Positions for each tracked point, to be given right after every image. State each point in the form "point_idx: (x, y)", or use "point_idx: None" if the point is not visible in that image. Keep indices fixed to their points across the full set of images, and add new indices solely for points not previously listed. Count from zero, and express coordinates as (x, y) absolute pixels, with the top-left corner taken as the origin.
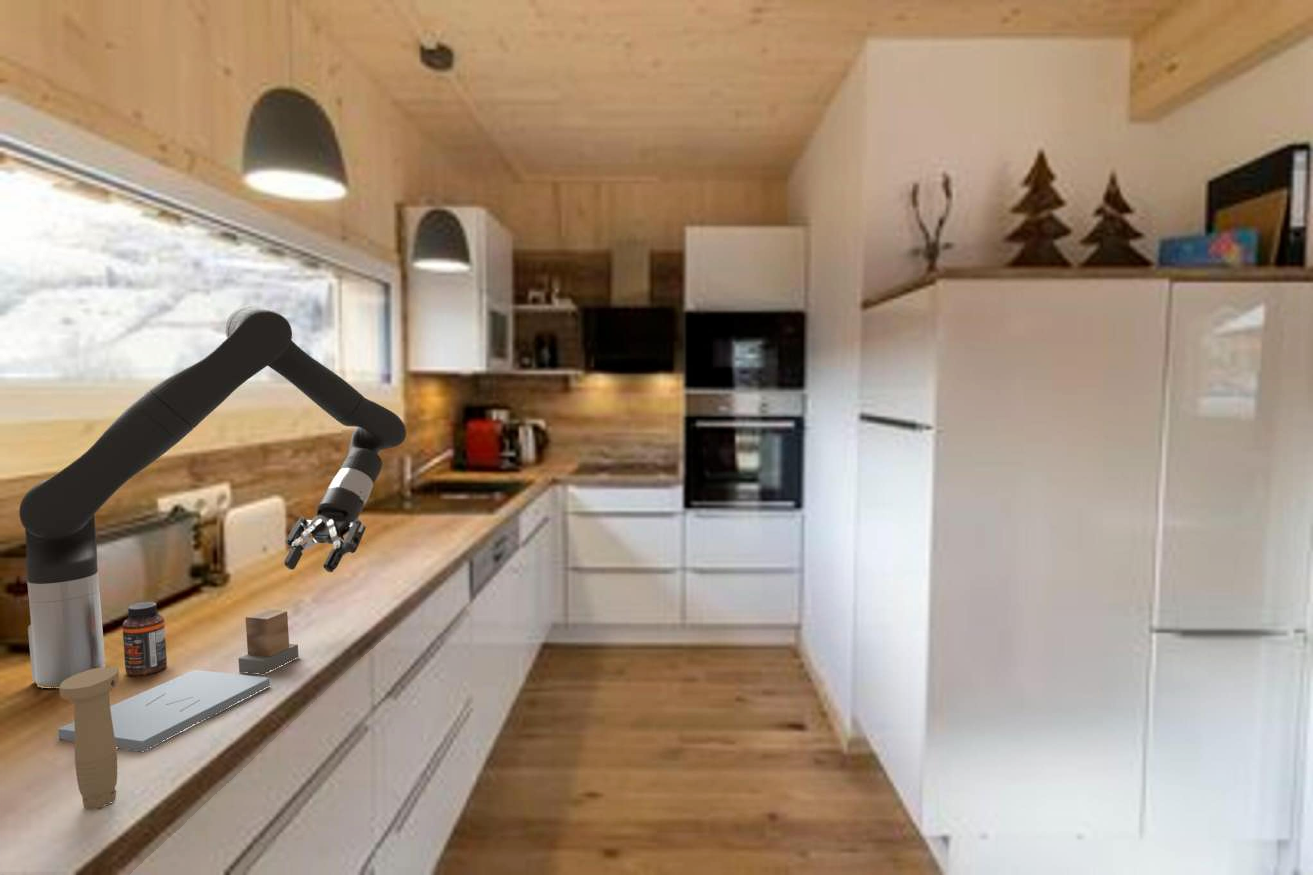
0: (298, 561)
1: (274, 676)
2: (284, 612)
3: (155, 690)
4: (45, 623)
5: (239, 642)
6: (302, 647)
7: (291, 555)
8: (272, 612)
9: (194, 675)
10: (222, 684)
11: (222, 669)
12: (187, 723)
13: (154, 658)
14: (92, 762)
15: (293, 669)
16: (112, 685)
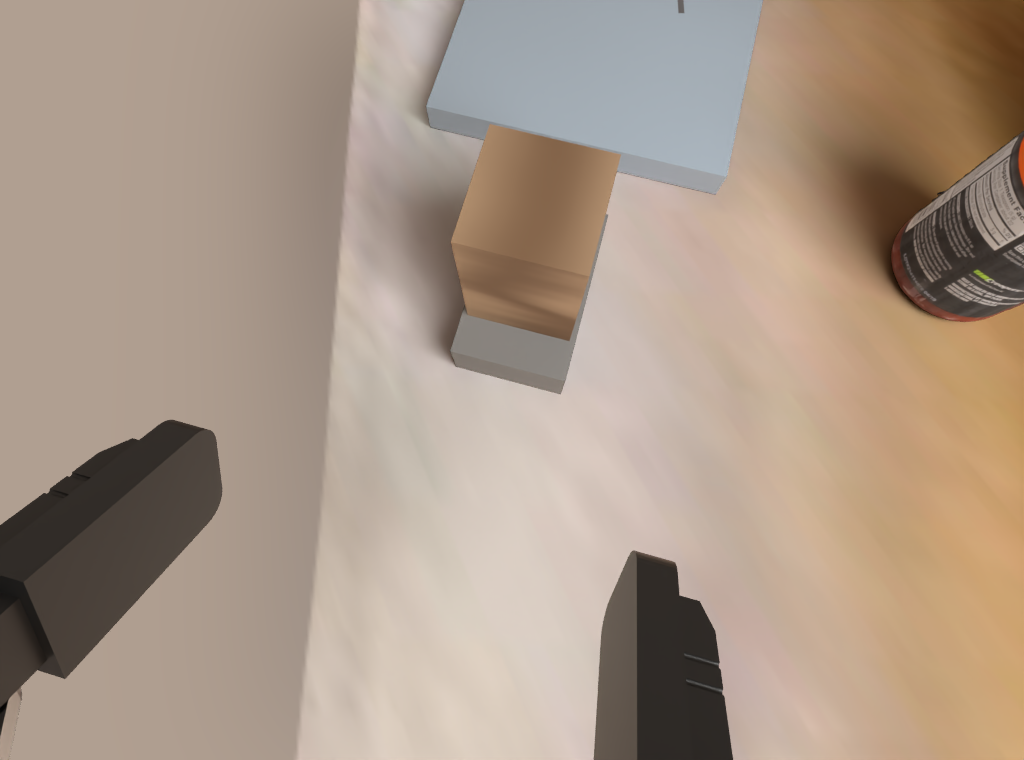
0: (596, 721)
1: (460, 206)
2: (457, 226)
3: (729, 32)
4: None
5: (809, 560)
6: (496, 484)
7: (639, 634)
8: (520, 221)
9: (690, 131)
10: (549, 65)
11: (677, 268)
12: None
13: (926, 211)
14: None
15: (424, 261)
16: None
